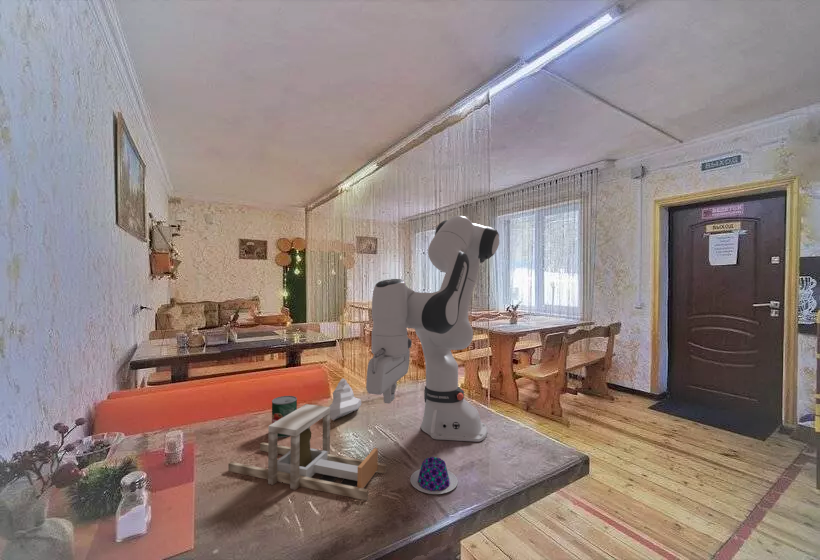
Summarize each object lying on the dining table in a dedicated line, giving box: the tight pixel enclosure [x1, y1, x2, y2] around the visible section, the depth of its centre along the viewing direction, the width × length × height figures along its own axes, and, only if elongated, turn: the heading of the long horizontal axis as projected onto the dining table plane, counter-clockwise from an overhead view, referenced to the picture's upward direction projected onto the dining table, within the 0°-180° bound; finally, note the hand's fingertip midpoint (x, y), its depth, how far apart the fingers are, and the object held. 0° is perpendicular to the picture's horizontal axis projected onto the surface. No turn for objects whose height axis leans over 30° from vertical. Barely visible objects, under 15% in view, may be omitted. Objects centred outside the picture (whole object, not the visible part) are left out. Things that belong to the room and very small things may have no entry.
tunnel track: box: [227, 403, 388, 501], centre depth 93 cm, size 40×16×14 cm, turn 73°
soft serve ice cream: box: [328, 377, 362, 421], centre depth 133 cm, size 12×15×14 cm
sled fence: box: [277, 447, 379, 489], centre depth 91 cm, size 25×10×6 cm, turn 73°
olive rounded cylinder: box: [290, 428, 312, 467], centre depth 93 cm, size 6×6×11 cm
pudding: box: [409, 456, 459, 495], centre depth 89 cm, size 12×12×5 cm
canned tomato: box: [271, 395, 298, 439], centre depth 116 cm, size 8×8×11 cm
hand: (389, 401), depth 86 cm, fingers closed
